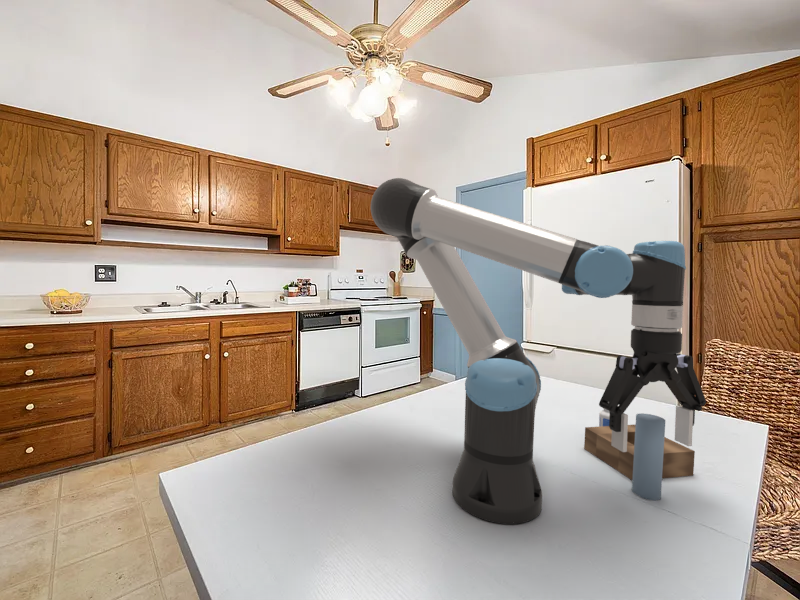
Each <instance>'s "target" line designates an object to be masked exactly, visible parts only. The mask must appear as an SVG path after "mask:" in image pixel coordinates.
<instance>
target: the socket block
mask: <svg viewBox="0 0 800 600" xmlns="http://www.w3.org/2000/svg"><path fill="white" fill-rule="evenodd" d="M635 425H636V423H635V424H628V431H627V452H622V451H620V450H618V449H617V448H615V447H613V446H611V441H612V430H611V429H610V427H609V426H600V427H599V426H590V427H589V426H586V427H584V445H583V446H584V447H583V448H584V450H585V451H587V452H589V453H590V454H591V455H593V456H595V457H596V458H597V459H599V460H601V461H602V462H604V463H605V464H606V465H608V466H610V467H611V468H612V469H614V470H616V471H617V472H619V473H620V474H622V475H624V476H625V477H626V478H628V479H630V480H631V481H632V479H633V461H634V443H635ZM695 453H696V452H695V450H693V449H691V448H689V447H688V446H686V445H685V446H684V444H682V443H679V442H677V441H675V440H672V439H669V438H667V437H666V436H665V437H664V454H663V470H662V479H669V478H680V477H691V476H694V469H695V468H694V467H695Z"/></svg>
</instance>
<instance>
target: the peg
mask: <svg viewBox="0 0 800 600" xmlns="http://www.w3.org/2000/svg"><path fill="white" fill-rule="evenodd" d="M635 424H636V425H635ZM635 424H634V425H635V443H634V461H633V479H632V480H631V491H632V493H634V495H636V496H638V497H641V498H642V499H645V500H649V501H659V500H661V498H662V485H663V483H662V482H663V478H662V470H663V454H664V437H666V436H665V435H666V434H665V433H666V419H665V418H663V417H662V416H658V415H655V414H651V413H637V414H636V415H635Z"/></svg>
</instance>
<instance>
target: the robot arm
mask: <svg viewBox="0 0 800 600" xmlns="http://www.w3.org/2000/svg"><path fill="white" fill-rule="evenodd" d="M370 200H371V201H370V213H371V218H372V220H373V222H374V223H375V225H376V226H377V227H378V228H379V230H381V231H382V232H383V233H384V234H387V235H389V236H392V237H395V238H397V240H398V242H399V243H400V245H401V247H402V249H403V251H404V253H405V254H406V256H407V258H410V259H414V260H416V261H417V263H418V264H419V266H420V268H421V269H422V272H423V273H424V275H425V277H426V279H427V280H428V282H429V284H430V286H431V288H432V290H433V292H434V293H435V296H436V297H437V298H438V300H439V302H440V304H441V305H442V308H443V310H444V312H445V315H447V317H448V319H449V321H450V322H451V324H452V327H453V328H454V330H455V332H456V333H457V336H458V337H459V339H460V340H461V343H462V344H463V346H464V348H465V350H466V352H467V354H468V359H467V364H466V367H467V371H466V379H465V383H464V386H465V387H464V390H465V407H464V409H465V411H464V434H463V436H464V437H463V438H464V439H463V440H464V441H463V443H464V444H463V452H462V454H461V456H460V459H459V462H458V465H457V467H456V470H455V472H454V475H453V480H452V495H453V498H454V500H455V502H456V503H457V504H458V506H459V507H461V508H462V509H463V510H464V511H466V512H467V513H469V514H471V515H472V516H474V517H477V518H479V519H482V520H484V521H487V522H492V523H496V524H505V525H513V524H515V525H516V524H523V523H526V522H529V521H532V520H534V519H535V518H537V517H538V515H540V514H541V511H542V509H543V492H542V491H543V490H542V487H541V484H540V480H539V475H538V474H537V470H536V466H535V462H534V439H535V438H534V436H535V435H534V433H535V417H536V409H537V408H536V407H537V403H538V399H539V396H540V393H541V390H542V389H541V387H542V381H541V375H540V372H539V371H538V368H537V366H536V365H535V364H534V363H533V362H532V360H530V359H529V357H527V356H526V354H525V353H524V351H523V349H522V347H521V346H520V344H519V343H518V341H517V340H516V339H515V338H511V337H508V336H506V335H505V333H504V331H503V330H502V328H501V326H500V324H499V323H498V321H497V319H496V317H495V315H494V314H493V312H492V310H491V308H490V307H489V305H488V303H487V302H486V300H485V298H484V295H482V293H481V291H480V289H479V287H478V286H477V284H476V282H475V281H474V279H473V277H472V275H471V274H470V272H469V270H468V268H467V267H466V265H465V263H464V261H463V260H462V258H461V256H460V255H459V252H458V251H457V249H459V250H463V251H465V252H468V253H471V254H473V255H476V256H479V257H483V258H486V259H488V260H491V261H494V262H496V263H500V264H502V265H506V266H509V267H512V268H514V269H516V270H517V269H518V270H520V271H522V272H523V271H524V273H529V274H531V275H535V276H537V277H540V278H543V279H546V280H549V281H552V282H554V283H558V284H560V285H561V291H562V292H563V293H564V294H567V295H576V296H583V295H584V296H585V295H586V296H587V295H589V296H592V297H596V298H599V299H606V298H610V297H613V296H616V295H617V296H631V298H632V300H631V302H632V304H631V322H630V323H631V326H632V327H634V328H632V329H631V330H630V348H631V349H632V350H633V354H632V357H628V356H623V355H617V357H616V361H615V368H614V369H613V372H612V374H611V377H610V379H609V380H608V383H607V385H606V387H605V390H604V392H603V394H602V396H601V399H600V401H599V403H598V406H599V407H600V408H601V409H603V408H604V409H606V410H609V412H610V418H609V427H610V429H611V430H612V441H611V446H613V447H615V448H617V449H618V450H620V451H622V452H627V431H628V425H629V424H628V423H629V414H628V413H625V412H626V411H627V409H628V407H629V406H630V405H631V403H632V402H633V401H634V400H635V398H636V397H637V396H638V394H639V393H640V392H641V390H642V389H643V387H644V386H647V385H649V384H650V383H656V382H662V383H665V384H666V386H667V388H668V389H669V390H670V391H671V393H672V395H673V396H674V397H675V399H676V400H677V401H678V403H679V404H680V405H675V420H674V421H675V422H674V423H675V425H674V442H677V443H679V444H681V445H683V446H684V445H685V447H693V428H694V425H695V419H696V418H695V415H696V411H697V412H701V411H702V409H703V406H705V405H706V404H707V400H706V398H705V395H704V392H703V389H702V387H701V384H700V381H699V379H698V377H697V373H696V371H695V369H694V358H693V356H692V355H688V354H682V353H681V352H682V350H683V333H682V332H681V331H680V329H682V328H683V317H684V316H683V314H684V313H683V311H684V294H685V293H684V291H685V276H686V270H687V267H686V251H685V250H686V249H685V245H684V244H683V243H682V242H679V241H675V240H655V241H644V242H643V241H642V242H639V243H636V244H635V245H634V247H633V250H632V252H631V253H626V252H625V251H623V250H622V249H621V248H618V247H614V246H611V245H606V244H605V245H598V244H595V243H592V242H591V243H590V242H587V241H585V240H581V239H577V238H575V237H571V236H569V235H566V234H565V235H564V234H562V233H559V232H555V231H552V230H548V229H546V228H545V229H544V228H542V227H539V226H535V225H531V224H528V223H526V222H521V221H518V220H515V219H512V218H508V217H505V216H502V215H498V214H495V213H492V212H489V211H485V210H483V209H478V208H475V207H472V206H469V205H466V204H462V203H459V202H456V201H452V200H448V199H446V198H442V197H439V196H438V193H437V191H436V190H435V189H432V188H430V187H426V186H423V185H420V184H417V183H415V182H413V181H411V180H409V179H406V178H401V177H397V178H391V179H387V180H386V181H384V182H382V183H381V184H380V185H379V186H378V187H377V188H376V189H375V191H374V192H373V195H372V197H371V199H370ZM456 248H457V249H456ZM678 330H679V331H678ZM608 402H609V403H608ZM618 405H619V406H618ZM604 409H603V410H604Z"/></svg>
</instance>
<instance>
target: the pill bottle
mask: <svg viewBox="0 0 800 600" xmlns="http://www.w3.org/2000/svg"><path fill="white" fill-rule="evenodd" d="M608 403H609V402H608ZM618 406H619V405H618ZM598 414H599V417H598V419H599V420H598V424H599V425H598V427H600V426H609V418H610V412H609V410H606V409H604V408H602V410H600V411H599V413H598Z"/></svg>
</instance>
